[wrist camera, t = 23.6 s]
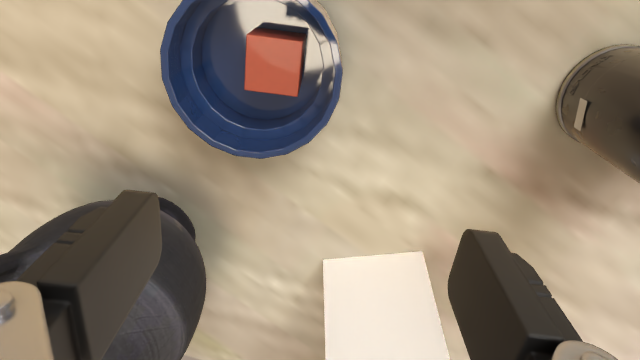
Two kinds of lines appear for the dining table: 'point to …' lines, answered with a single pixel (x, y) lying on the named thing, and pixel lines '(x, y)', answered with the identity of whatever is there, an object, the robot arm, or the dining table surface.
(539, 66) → the dining table surface
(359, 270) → the milk
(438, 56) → the dining table surface
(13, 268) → the pitcher
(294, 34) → the block
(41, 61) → the dining table surface
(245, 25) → the bowl
